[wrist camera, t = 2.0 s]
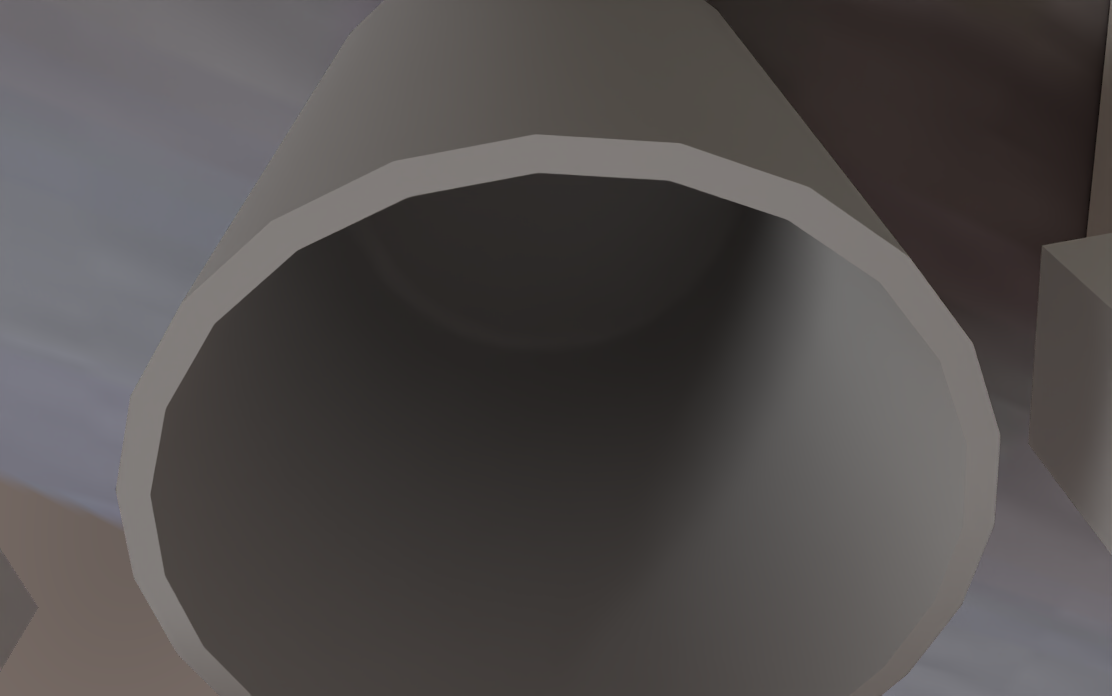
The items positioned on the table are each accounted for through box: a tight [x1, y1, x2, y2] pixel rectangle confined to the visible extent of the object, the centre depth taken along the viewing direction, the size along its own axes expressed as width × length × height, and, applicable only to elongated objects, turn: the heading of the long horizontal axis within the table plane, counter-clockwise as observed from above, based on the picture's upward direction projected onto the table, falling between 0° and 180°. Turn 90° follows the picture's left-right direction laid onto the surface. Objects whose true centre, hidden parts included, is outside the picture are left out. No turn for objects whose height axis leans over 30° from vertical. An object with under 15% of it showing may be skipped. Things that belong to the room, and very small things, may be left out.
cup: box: [116, 0, 1000, 696], centre depth 12 cm, size 7×10×9 cm
